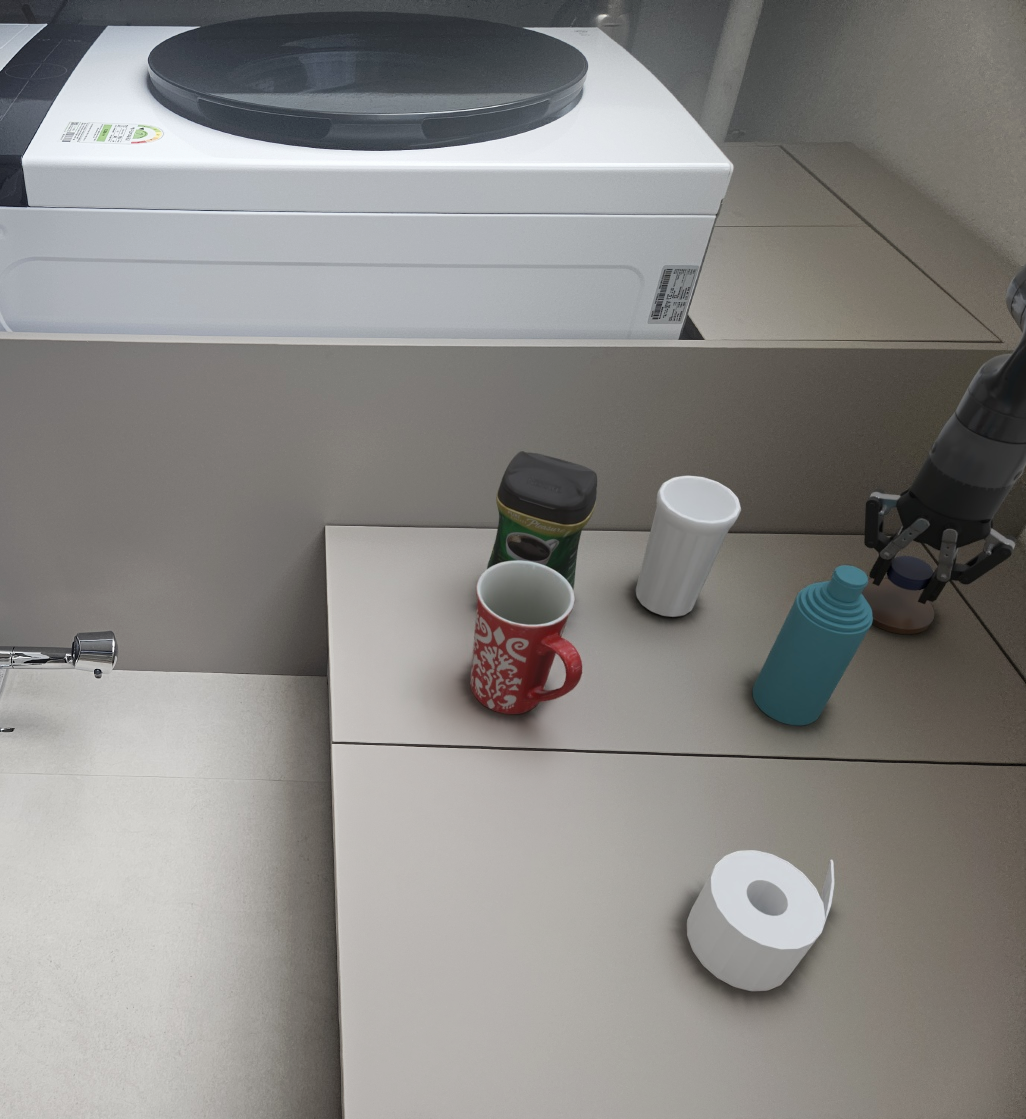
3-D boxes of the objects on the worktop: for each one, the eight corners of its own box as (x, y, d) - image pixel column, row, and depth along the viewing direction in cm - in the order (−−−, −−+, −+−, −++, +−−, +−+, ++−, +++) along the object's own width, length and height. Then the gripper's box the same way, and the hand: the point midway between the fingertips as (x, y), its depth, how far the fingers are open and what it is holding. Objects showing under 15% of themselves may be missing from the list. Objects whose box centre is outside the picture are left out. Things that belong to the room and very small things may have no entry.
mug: (442, 671, 100) (457, 576, 91) (515, 643, 103) (536, 548, 94) (515, 761, 92) (538, 667, 83) (591, 728, 95) (622, 633, 86)
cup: (699, 633, 104) (740, 532, 94) (621, 613, 106) (654, 513, 97) (704, 585, 110) (743, 484, 100) (631, 567, 112) (662, 467, 102)
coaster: (939, 603, 107) (942, 598, 106) (921, 645, 102) (924, 640, 102) (862, 573, 111) (864, 568, 110) (841, 612, 106) (844, 607, 106)
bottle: (828, 695, 97) (899, 569, 86) (810, 736, 94) (882, 610, 82) (763, 666, 100) (823, 541, 89) (743, 705, 97) (804, 580, 85)
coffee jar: (577, 594, 109) (613, 460, 96) (555, 640, 104) (590, 504, 91) (494, 567, 112) (519, 434, 100) (470, 609, 107) (492, 475, 95)
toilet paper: (824, 912, 80) (856, 868, 76) (768, 1013, 74) (799, 972, 70) (728, 852, 85) (753, 807, 80) (668, 943, 78) (691, 900, 74)
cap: (913, 564, 106) (918, 553, 105) (936, 588, 103) (941, 577, 102) (878, 568, 105) (883, 558, 104) (900, 592, 102) (905, 582, 101)
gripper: (1066, 470, 92) (980, 599, 104) (904, 418, 99) (840, 545, 110) (1053, 509, 88) (964, 639, 99) (885, 452, 94) (820, 580, 106)
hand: (899, 589), depth 105 cm, fingers closed on cap, 4 cm apart
